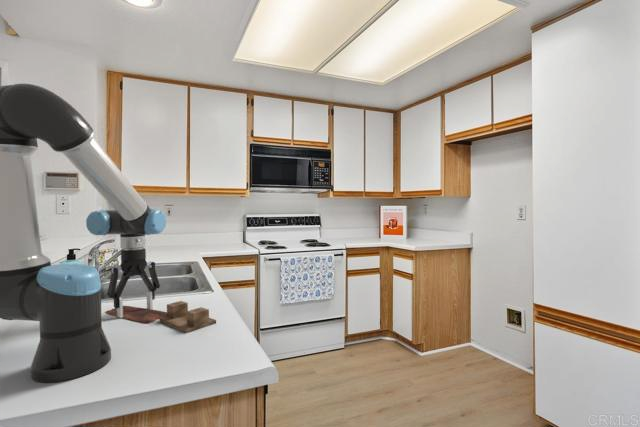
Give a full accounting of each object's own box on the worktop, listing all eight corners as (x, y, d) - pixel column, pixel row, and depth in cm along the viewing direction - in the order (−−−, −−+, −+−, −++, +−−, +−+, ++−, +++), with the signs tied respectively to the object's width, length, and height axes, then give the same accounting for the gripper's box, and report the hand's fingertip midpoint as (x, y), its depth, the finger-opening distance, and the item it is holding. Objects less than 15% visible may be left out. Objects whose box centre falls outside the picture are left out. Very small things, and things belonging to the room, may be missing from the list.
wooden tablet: (98, 310, 119) (126, 299, 128) (99, 316, 119) (127, 305, 128) (146, 322, 106) (173, 309, 115) (147, 328, 107) (174, 315, 115)
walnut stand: (186, 333, 99) (186, 316, 99) (159, 321, 109) (159, 306, 108) (216, 323, 107) (215, 307, 106) (188, 313, 116) (187, 299, 116)
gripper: (101, 253, 105) (104, 324, 106) (169, 245, 123) (171, 307, 123) (92, 251, 110) (95, 319, 111) (159, 244, 127) (161, 303, 128)
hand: (135, 313), depth 117 cm, fingers open, 9 cm apart
